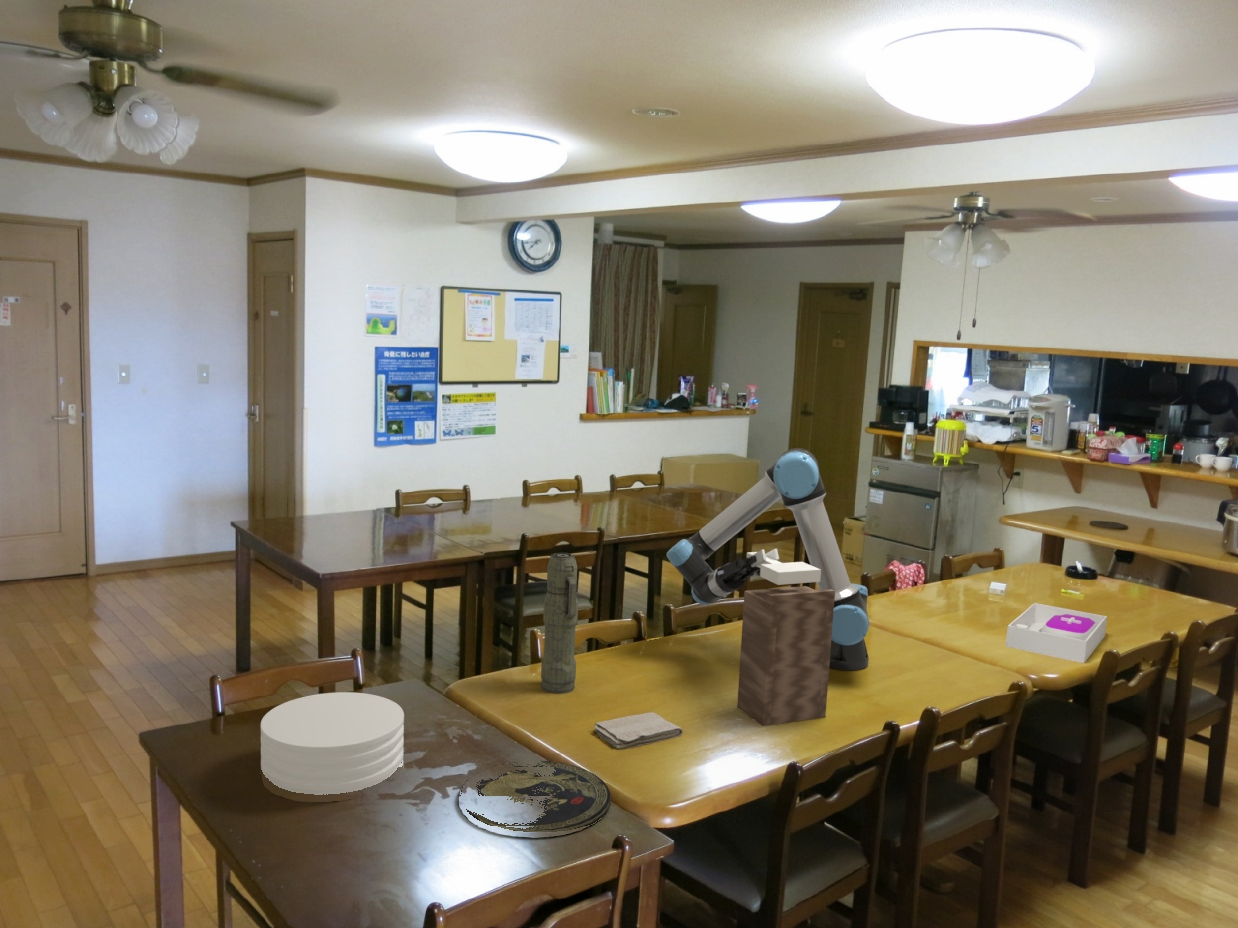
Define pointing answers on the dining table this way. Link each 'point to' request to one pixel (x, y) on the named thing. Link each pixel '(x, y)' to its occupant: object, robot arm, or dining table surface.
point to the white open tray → (1057, 632)
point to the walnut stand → (785, 654)
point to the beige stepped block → (787, 571)
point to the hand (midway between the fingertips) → (770, 554)
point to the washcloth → (636, 730)
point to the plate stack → (332, 742)
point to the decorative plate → (552, 796)
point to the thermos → (560, 625)
